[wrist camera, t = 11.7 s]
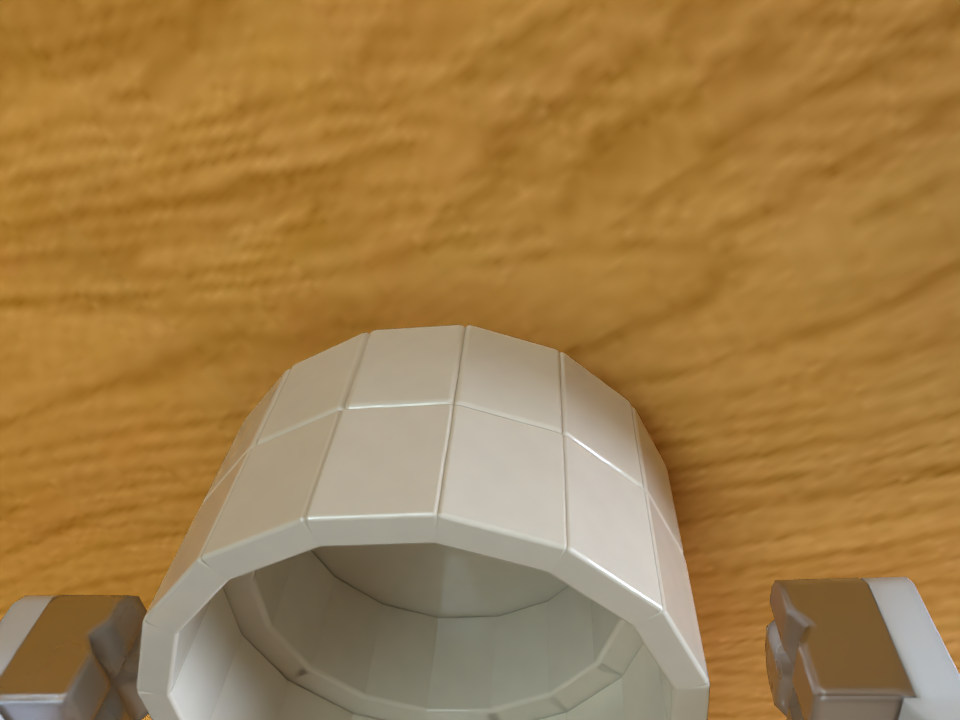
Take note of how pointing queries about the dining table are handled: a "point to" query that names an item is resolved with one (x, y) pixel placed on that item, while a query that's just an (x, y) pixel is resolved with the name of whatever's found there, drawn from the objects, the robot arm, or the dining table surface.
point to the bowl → (431, 549)
